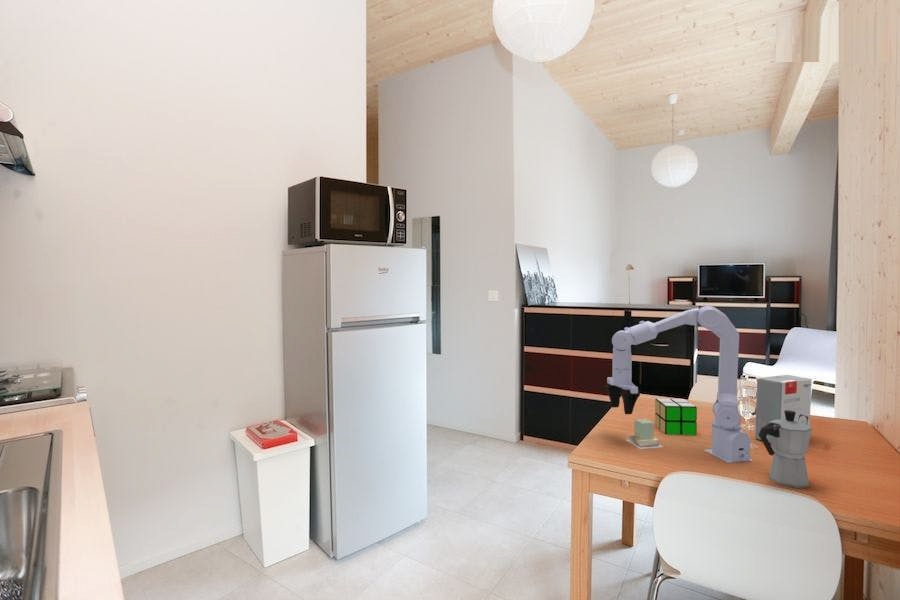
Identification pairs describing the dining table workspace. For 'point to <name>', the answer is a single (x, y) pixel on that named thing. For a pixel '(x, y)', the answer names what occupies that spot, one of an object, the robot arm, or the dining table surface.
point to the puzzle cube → (676, 416)
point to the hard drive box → (782, 400)
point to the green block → (644, 429)
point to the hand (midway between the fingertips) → (621, 410)
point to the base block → (644, 441)
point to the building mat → (643, 447)
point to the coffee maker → (787, 450)
